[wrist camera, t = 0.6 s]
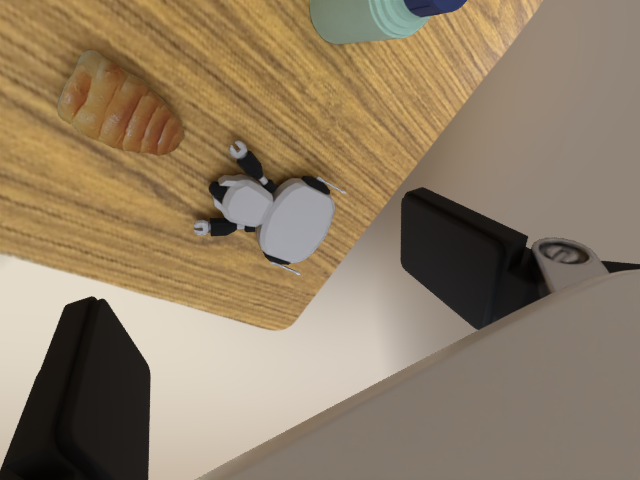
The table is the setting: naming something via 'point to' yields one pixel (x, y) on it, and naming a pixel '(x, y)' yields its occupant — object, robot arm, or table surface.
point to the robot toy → (271, 210)
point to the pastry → (118, 108)
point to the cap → (432, 6)
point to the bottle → (363, 20)
